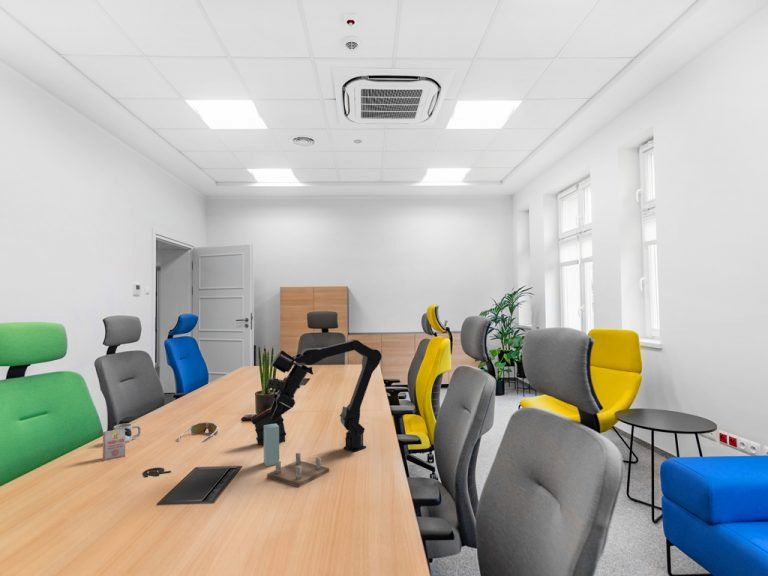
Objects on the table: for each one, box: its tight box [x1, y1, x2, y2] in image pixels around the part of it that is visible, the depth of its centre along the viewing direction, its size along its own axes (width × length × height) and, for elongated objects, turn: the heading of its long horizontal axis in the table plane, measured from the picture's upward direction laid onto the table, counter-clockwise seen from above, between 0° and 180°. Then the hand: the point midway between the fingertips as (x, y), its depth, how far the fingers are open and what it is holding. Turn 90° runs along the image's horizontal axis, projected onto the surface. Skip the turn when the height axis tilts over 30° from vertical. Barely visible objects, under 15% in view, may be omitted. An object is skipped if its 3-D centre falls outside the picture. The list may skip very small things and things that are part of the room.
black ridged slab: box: [250, 405, 287, 446], centre depth 173 cm, size 4×13×15 cm, turn 114°
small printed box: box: [102, 428, 126, 461], centre depth 159 cm, size 4×7×10 cm, turn 128°
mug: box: [113, 423, 142, 444], centre depth 179 cm, size 10×7×7 cm
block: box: [263, 424, 280, 467], centre depth 150 cm, size 4×4×13 cm
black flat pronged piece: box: [142, 467, 172, 478], centre depth 142 cm, size 9×8×1 cm
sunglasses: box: [178, 421, 219, 444], centre depth 182 cm, size 14×15×5 cm
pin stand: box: [266, 452, 330, 488], centre depth 139 cm, size 14×14×5 cm
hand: (271, 417), depth 155 cm, fingers open, 9 cm apart
